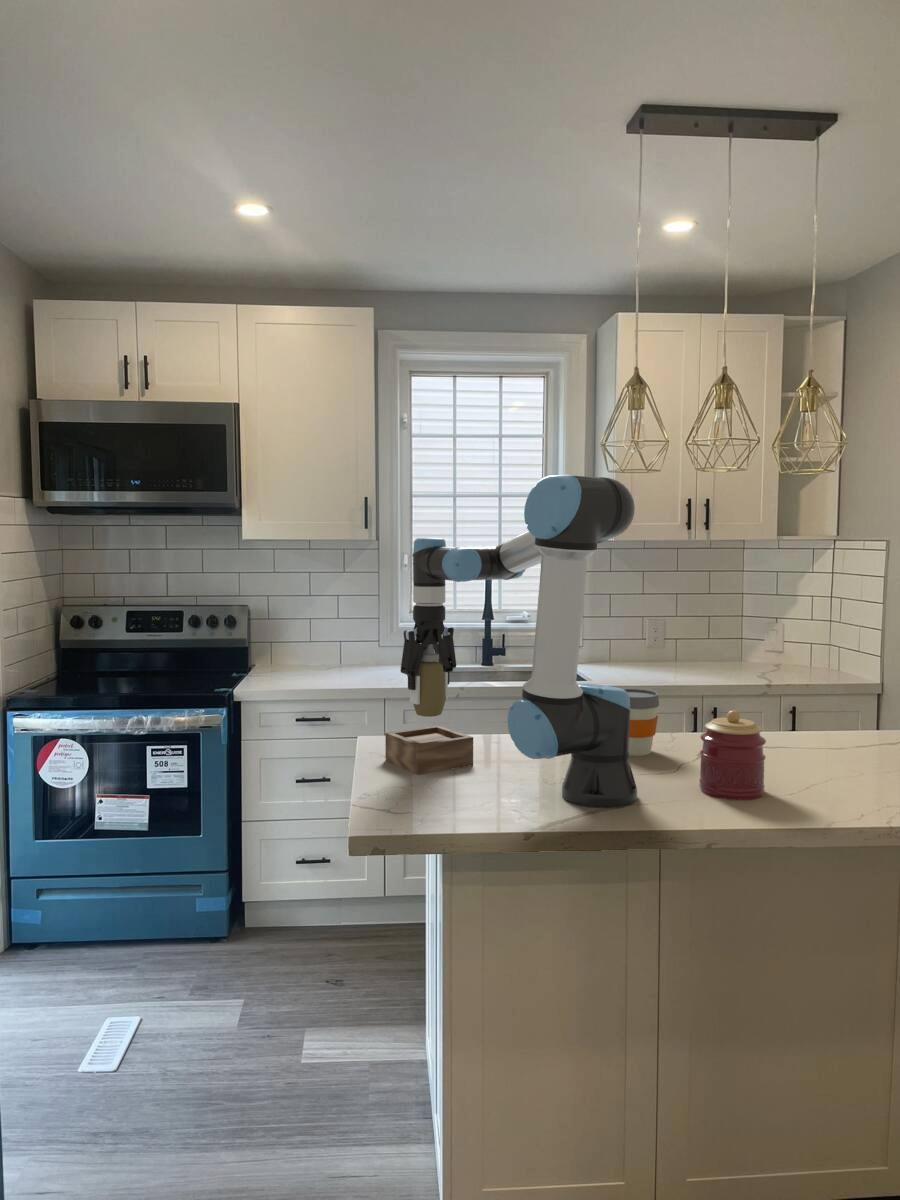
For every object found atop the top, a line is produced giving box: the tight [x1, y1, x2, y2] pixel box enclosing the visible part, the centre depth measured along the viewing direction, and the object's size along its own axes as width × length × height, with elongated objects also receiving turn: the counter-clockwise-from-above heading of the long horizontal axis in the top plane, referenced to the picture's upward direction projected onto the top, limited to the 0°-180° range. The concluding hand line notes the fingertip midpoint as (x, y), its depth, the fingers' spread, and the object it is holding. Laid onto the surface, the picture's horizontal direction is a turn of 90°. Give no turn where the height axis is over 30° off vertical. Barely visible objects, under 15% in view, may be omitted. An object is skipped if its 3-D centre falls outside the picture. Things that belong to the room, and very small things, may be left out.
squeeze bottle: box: [412, 644, 447, 717], centre depth 204 cm, size 8×8×18 cm
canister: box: [698, 709, 767, 801], centre depth 181 cm, size 13×13×18 cm
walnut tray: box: [384, 725, 474, 776], centre depth 205 cm, size 15×15×7 cm
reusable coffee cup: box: [623, 688, 660, 757], centre depth 216 cm, size 13×13×15 cm
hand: (428, 700), depth 204 cm, fingers closed on squeeze bottle, 8 cm apart
